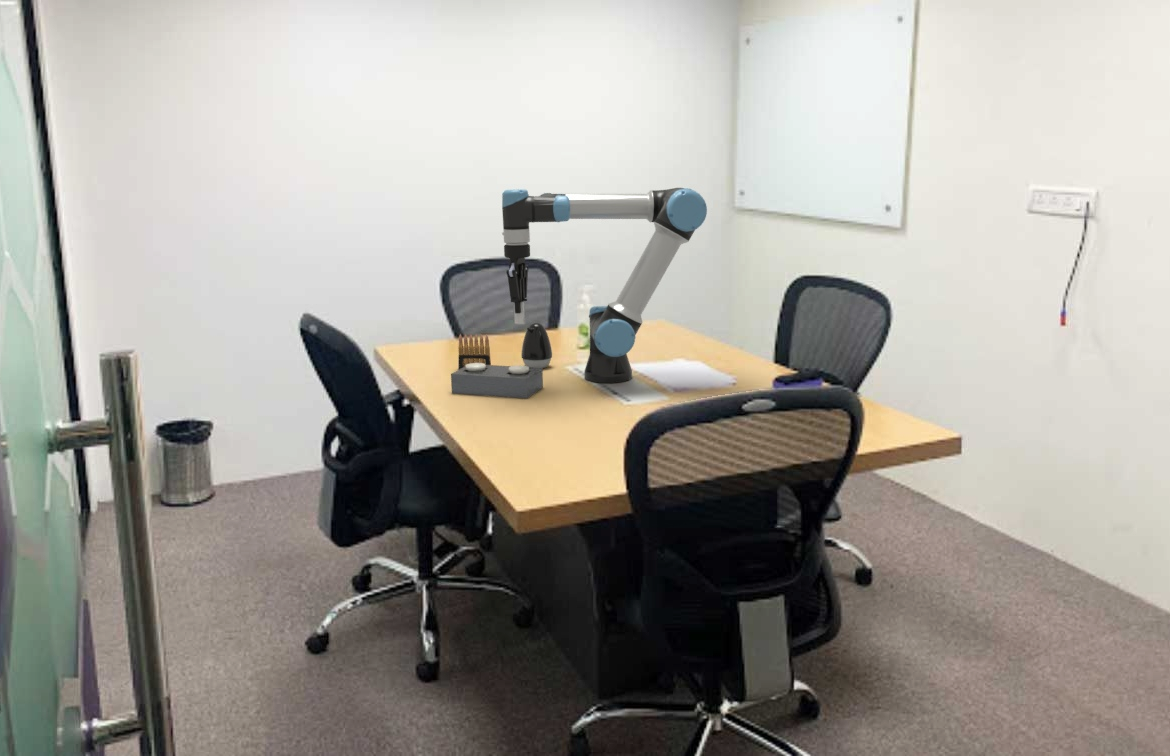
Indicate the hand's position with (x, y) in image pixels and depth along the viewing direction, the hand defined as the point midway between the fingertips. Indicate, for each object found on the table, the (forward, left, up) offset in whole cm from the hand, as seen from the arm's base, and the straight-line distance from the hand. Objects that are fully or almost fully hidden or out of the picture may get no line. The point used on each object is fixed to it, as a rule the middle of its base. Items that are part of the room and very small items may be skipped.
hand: (519, 323), depth 278 cm
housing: (+7, +1, -21) cm, 22 cm away
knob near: (0, +1, -20) cm, 20 cm away
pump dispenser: (+6, -31, -21) cm, 38 cm away
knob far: (+14, +1, -20) cm, 25 cm away
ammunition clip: (+25, -23, -21) cm, 40 cm away
